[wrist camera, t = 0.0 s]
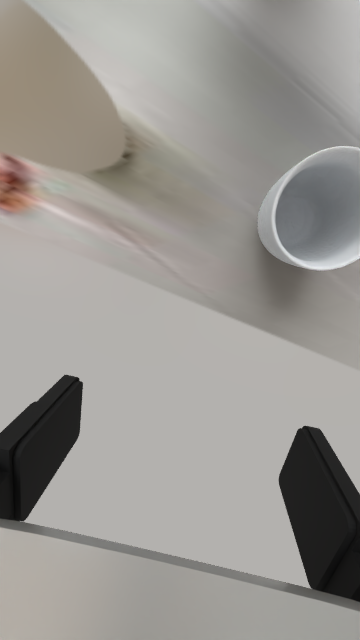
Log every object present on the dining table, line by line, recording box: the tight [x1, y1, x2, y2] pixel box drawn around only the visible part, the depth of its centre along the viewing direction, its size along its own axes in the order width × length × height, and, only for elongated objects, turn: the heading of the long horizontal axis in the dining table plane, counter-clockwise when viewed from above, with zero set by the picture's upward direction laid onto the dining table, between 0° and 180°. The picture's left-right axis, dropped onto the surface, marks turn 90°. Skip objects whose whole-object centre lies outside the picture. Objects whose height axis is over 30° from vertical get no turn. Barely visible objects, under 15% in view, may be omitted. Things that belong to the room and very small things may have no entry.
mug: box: [257, 146, 360, 271], centre depth 29 cm, size 15×11×13 cm
